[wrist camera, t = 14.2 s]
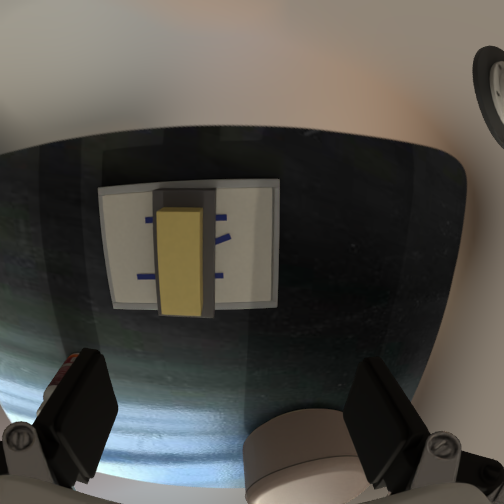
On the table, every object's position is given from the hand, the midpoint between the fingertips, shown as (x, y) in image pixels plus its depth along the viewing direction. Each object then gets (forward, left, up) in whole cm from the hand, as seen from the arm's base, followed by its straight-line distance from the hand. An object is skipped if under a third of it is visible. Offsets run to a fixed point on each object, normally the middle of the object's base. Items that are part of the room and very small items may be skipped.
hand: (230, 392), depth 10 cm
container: (+26, +20, -21) cm, 39 cm away
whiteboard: (+2, -4, -21) cm, 21 cm away
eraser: (+2, -4, -20) cm, 20 cm away
